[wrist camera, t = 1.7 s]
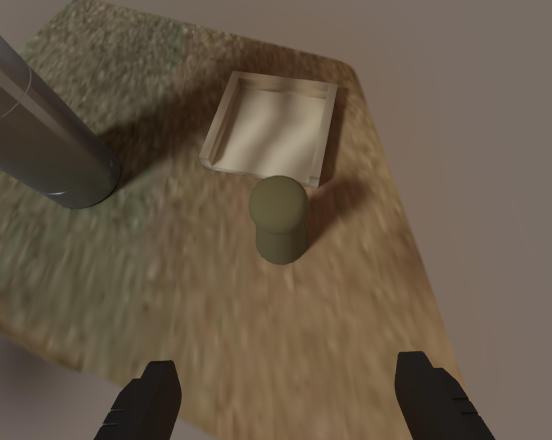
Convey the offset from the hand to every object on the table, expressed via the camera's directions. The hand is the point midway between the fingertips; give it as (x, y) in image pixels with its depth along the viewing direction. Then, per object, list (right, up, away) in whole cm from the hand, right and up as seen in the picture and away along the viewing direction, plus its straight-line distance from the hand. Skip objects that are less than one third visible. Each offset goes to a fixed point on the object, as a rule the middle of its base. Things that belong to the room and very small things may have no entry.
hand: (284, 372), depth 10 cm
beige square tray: (-1, +18, +29) cm, 34 cm away
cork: (0, +3, +23) cm, 23 cm away
